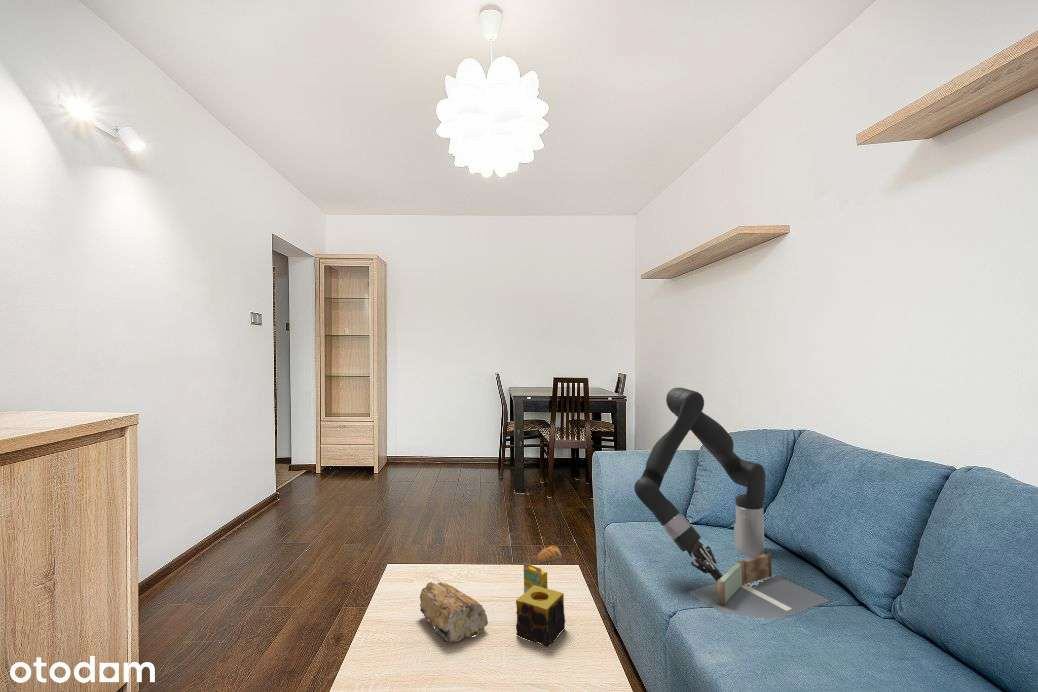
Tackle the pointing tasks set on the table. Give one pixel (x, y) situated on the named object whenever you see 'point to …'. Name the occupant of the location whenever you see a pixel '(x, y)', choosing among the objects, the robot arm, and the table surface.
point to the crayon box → (534, 577)
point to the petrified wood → (452, 612)
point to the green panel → (730, 582)
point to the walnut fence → (757, 568)
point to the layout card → (763, 599)
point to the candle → (540, 615)
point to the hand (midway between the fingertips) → (721, 581)
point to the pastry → (548, 554)
